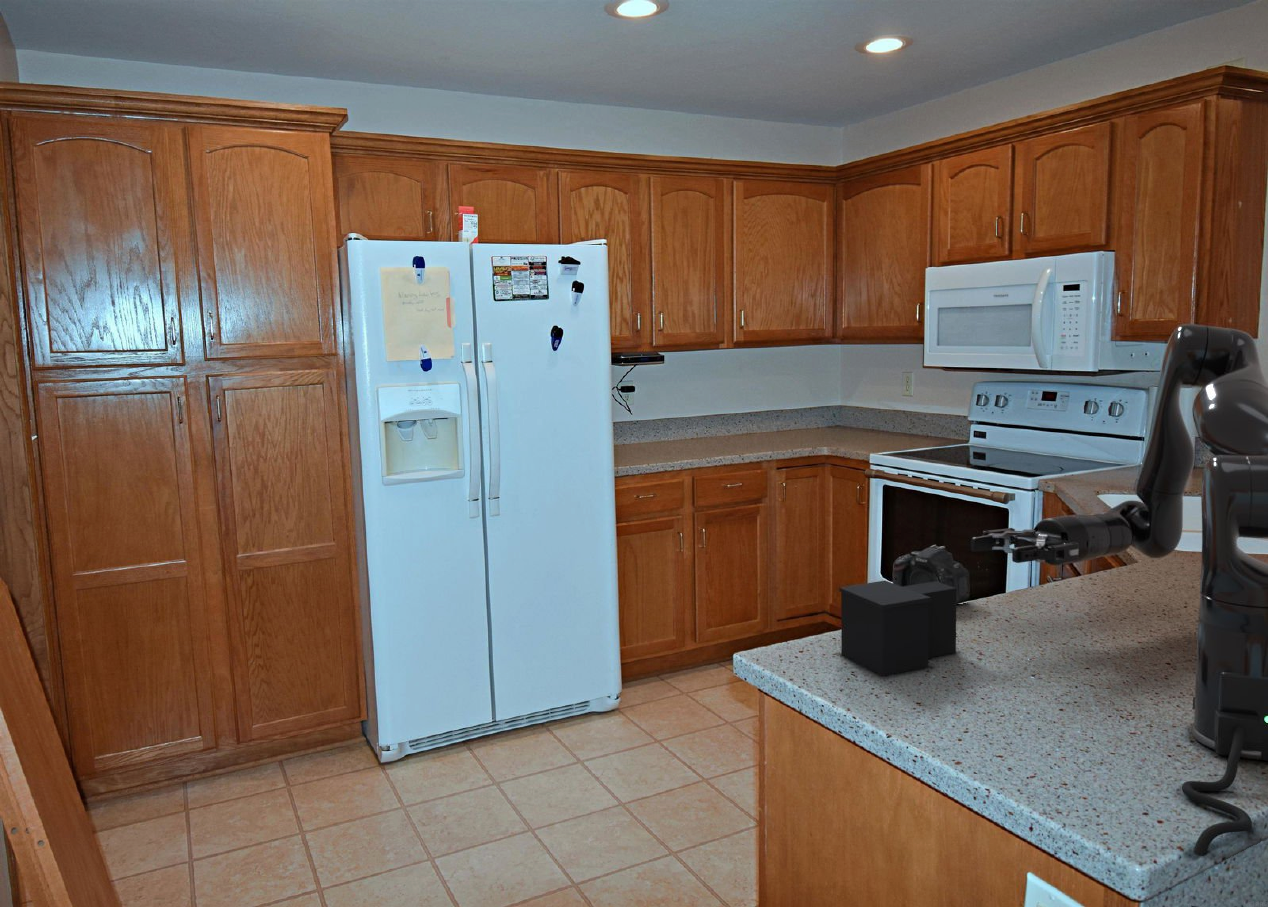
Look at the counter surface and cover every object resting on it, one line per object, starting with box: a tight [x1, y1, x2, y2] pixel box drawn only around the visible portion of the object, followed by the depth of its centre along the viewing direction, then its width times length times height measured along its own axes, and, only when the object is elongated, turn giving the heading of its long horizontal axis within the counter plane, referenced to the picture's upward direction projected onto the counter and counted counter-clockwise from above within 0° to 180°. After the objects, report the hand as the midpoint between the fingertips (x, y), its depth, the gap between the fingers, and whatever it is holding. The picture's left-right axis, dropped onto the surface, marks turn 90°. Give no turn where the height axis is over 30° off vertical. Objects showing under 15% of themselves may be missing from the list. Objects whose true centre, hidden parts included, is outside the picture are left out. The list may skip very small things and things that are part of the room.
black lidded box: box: [838, 580, 931, 677], centre depth 130 cm, size 10×8×10 cm
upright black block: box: [903, 581, 957, 659], centre depth 133 cm, size 4×7×10 cm, turn 112°
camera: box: [892, 544, 970, 605], centre depth 160 cm, size 13×10×10 cm
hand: (992, 550), depth 136 cm, fingers open, 8 cm apart
